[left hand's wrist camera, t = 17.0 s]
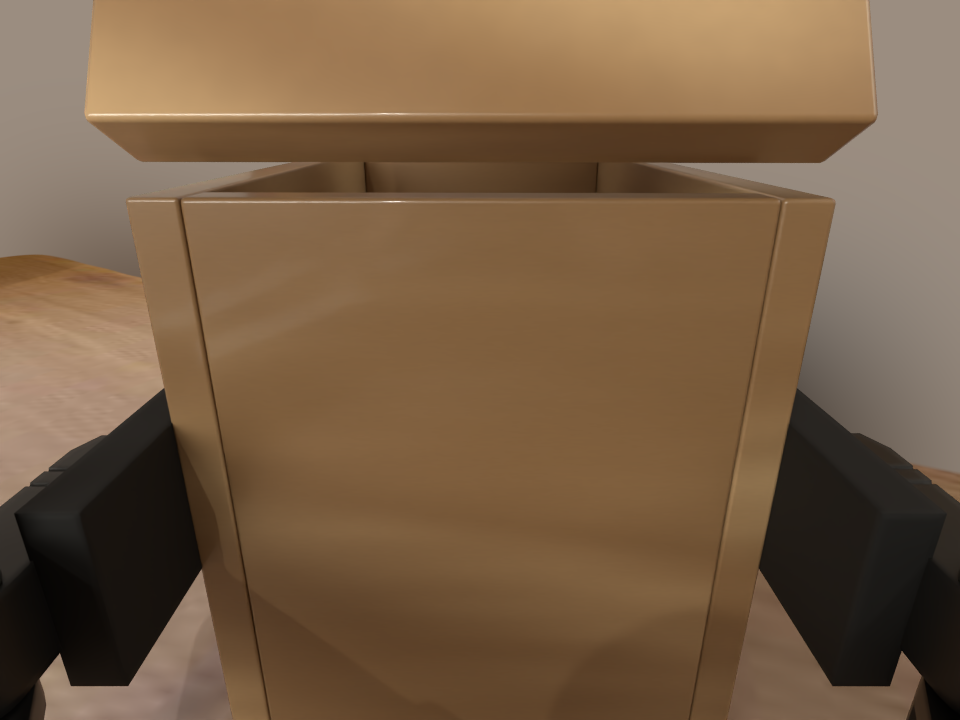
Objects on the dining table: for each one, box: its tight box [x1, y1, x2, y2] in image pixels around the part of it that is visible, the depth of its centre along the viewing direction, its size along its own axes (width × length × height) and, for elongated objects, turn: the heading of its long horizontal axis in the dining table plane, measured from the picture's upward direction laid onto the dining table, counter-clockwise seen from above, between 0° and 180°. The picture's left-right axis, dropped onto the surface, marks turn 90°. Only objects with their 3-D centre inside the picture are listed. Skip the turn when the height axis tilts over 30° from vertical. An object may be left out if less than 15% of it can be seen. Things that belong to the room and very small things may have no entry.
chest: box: [126, 162, 835, 720], centre depth 16 cm, size 14×9×11 cm, turn 0°
